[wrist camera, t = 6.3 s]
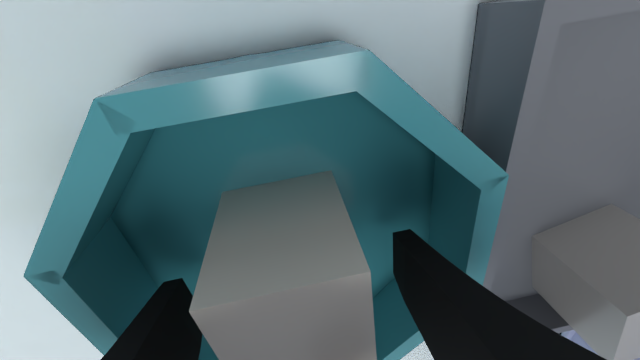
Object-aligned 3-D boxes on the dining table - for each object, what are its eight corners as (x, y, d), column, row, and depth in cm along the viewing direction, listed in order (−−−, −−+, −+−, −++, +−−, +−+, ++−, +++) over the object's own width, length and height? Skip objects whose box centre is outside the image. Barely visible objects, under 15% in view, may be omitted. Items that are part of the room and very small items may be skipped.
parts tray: (637, 267, 18) (687, 301, 16) (439, 314, 17) (463, 356, 15) (847, -60, 10) (1014, -82, 7) (479, 3, 9) (545, -1, 7)
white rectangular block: (343, 261, 13) (377, 377, 9) (256, 280, 13) (249, 408, 8) (331, 170, 10) (370, 271, 6) (222, 191, 10) (189, 311, 6)
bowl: (432, 292, 16) (466, 351, 13) (191, 347, 15) (172, 422, 12) (459, 17, 9) (546, 18, 6) (15, 95, 8) (-120, 135, 5)
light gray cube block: (600, 259, 16) (702, 334, 12) (532, 286, 16) (610, 367, 12) (611, 203, 14) (740, 274, 10) (531, 236, 14) (627, 316, 10)
